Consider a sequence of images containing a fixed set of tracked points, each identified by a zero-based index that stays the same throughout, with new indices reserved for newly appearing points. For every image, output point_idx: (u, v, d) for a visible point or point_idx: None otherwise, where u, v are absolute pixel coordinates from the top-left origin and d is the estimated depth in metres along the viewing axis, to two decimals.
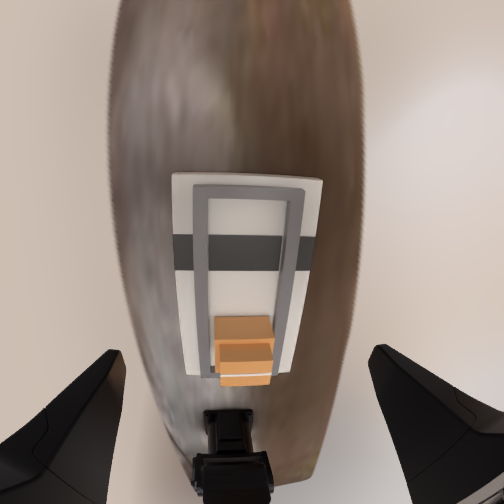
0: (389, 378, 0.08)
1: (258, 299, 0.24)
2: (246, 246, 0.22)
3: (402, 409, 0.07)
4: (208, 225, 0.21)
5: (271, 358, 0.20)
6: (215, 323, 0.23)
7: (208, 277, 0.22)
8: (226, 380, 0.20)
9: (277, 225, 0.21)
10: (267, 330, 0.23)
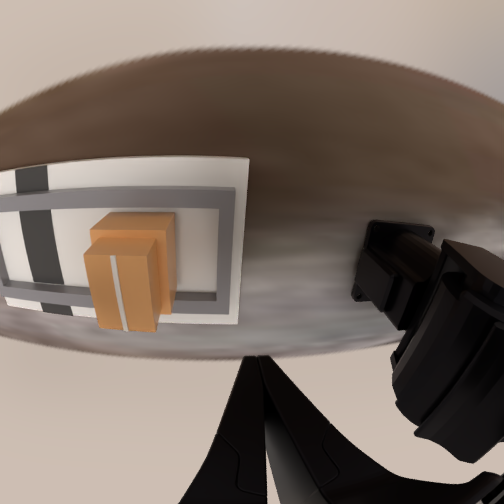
0: None
1: (88, 227, 0.15)
2: (34, 246, 0.15)
3: (271, 435, 0.06)
4: (28, 281, 0.16)
5: None
6: None
7: (71, 285, 0.16)
8: (138, 324, 0.12)
9: (12, 215, 0.14)
10: None
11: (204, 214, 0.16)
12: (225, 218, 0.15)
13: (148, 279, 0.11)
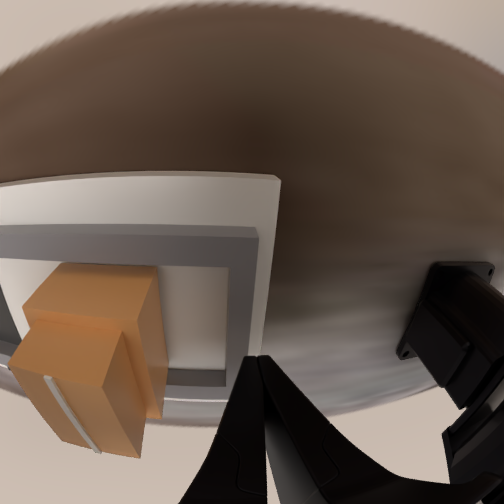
0: None
1: (37, 281, 0.09)
2: None
3: (271, 435, 0.06)
4: None
5: (12, 361, 0.05)
6: None
7: None
8: (113, 449, 0.06)
9: None
10: None
11: (205, 269, 0.10)
12: (241, 282, 0.09)
13: (114, 412, 0.05)
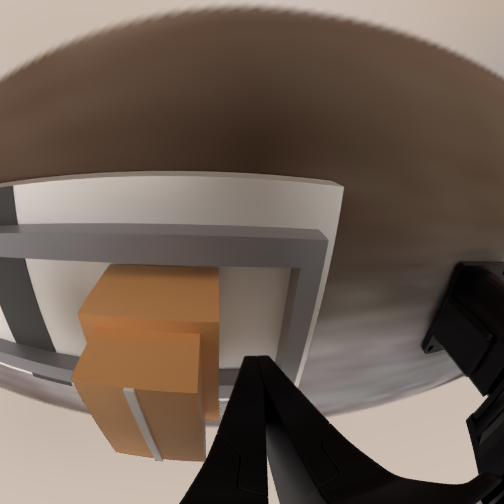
0: None
1: (80, 283, 0.09)
2: (9, 299, 0.09)
3: (270, 435, 0.06)
4: (9, 339, 0.10)
5: (75, 374, 0.05)
6: None
7: (65, 353, 0.11)
8: (178, 455, 0.07)
9: None
10: None
11: (268, 270, 0.10)
12: (308, 282, 0.09)
13: (198, 417, 0.06)
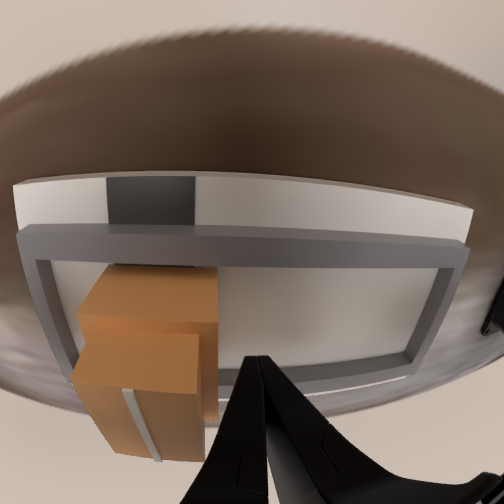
0: None
1: (271, 290, 0.10)
2: None
3: (270, 435, 0.06)
4: None
5: (73, 375, 0.05)
6: None
7: None
8: (178, 455, 0.07)
9: (95, 263, 0.09)
10: None
11: (427, 270, 0.11)
12: (455, 278, 0.10)
13: (198, 418, 0.06)
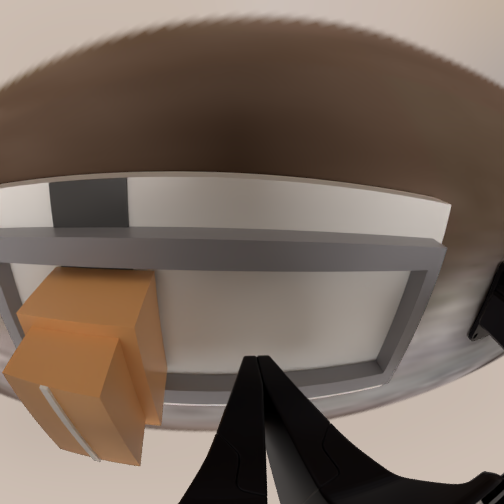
0: None
1: (213, 294, 0.10)
2: None
3: (271, 435, 0.06)
4: None
5: (7, 370, 0.04)
6: None
7: None
8: (112, 457, 0.06)
9: (46, 265, 0.08)
10: None
11: (396, 273, 0.11)
12: (429, 281, 0.10)
13: (112, 422, 0.05)
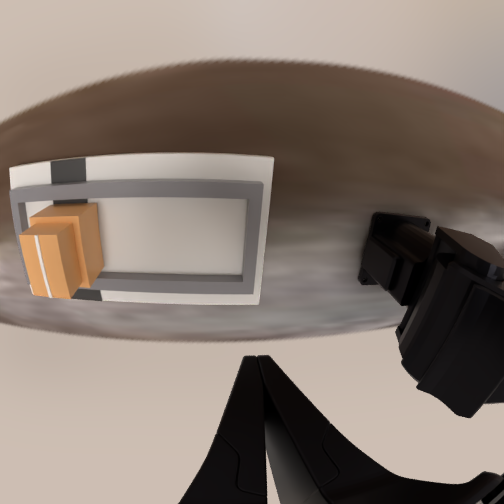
0: None
1: (124, 215, 0.17)
2: None
3: (271, 435, 0.06)
4: None
5: None
6: None
7: (103, 270, 0.19)
8: (58, 291, 0.13)
9: (45, 205, 0.16)
10: None
11: (234, 204, 0.18)
12: (254, 208, 0.17)
13: (60, 253, 0.13)
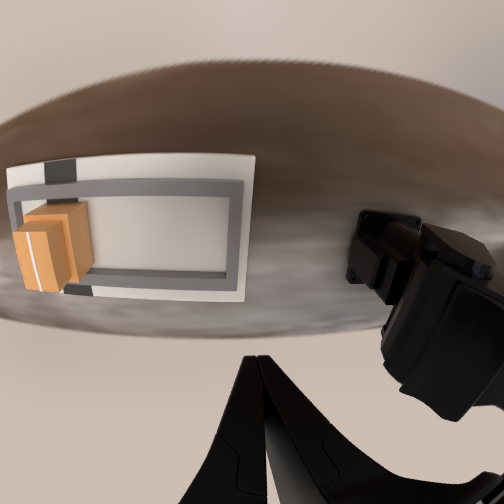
0: None
1: (113, 213, 0.18)
2: None
3: (271, 435, 0.06)
4: None
5: None
6: None
7: (94, 267, 0.19)
8: (48, 285, 0.14)
9: (40, 203, 0.16)
10: None
11: (216, 202, 0.18)
12: (235, 206, 0.18)
13: (49, 249, 0.13)
